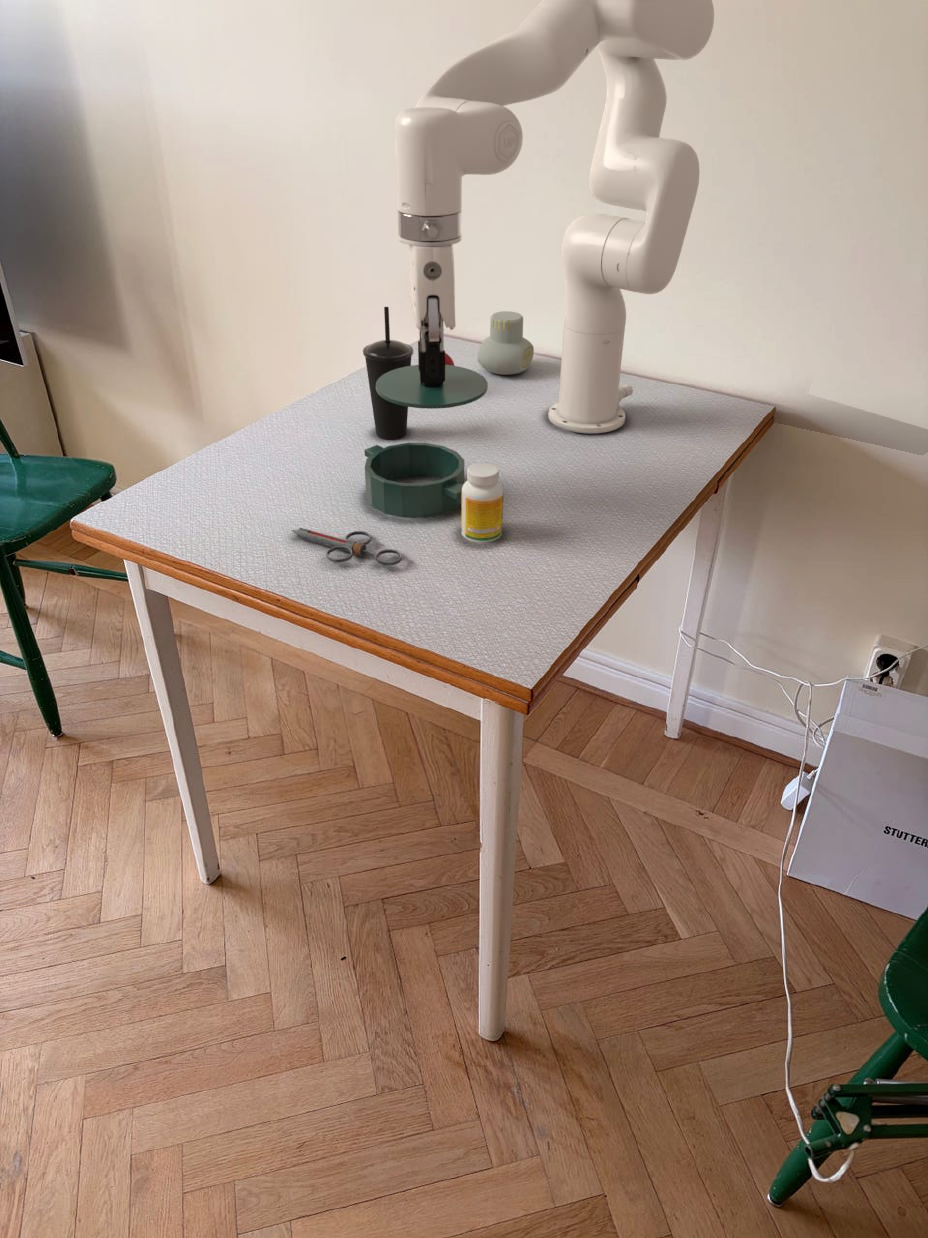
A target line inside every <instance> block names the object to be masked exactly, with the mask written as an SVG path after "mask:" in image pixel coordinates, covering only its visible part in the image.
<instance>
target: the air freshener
mask: <svg viewBox="0 0 928 1238" xmlns="http://www.w3.org/2000/svg"><path fill="white" fill-rule="evenodd" d="M489 322H490V324H489V325H490V327H489V329H490V330H489V336H488V337H486V338H485V339H483V341H482V342H481V343H480V346H479V347H478V351H477V362H478V364H479V365H480V367H482V368H484V370H486V371H488V372H490V373H493V374H495V375H501V376H508V375H509V376H511V375H518V374H521V373H522V372H524V371H526V370H527V369H528V368H529V367H530V365H531V363H532V360H533V358H534V353H535V349H534V348H535V347H534V344H532V343H531V341H529V340H528V339H527V338H525V337H524V316H523V315H522V314H521V313H519V312H516V311H497V312H494V313H493V314H492V315H491V316H490V321H489Z"/></svg>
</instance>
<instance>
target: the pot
mask: <svg viewBox="0 0 928 1238" xmlns="http://www.w3.org/2000/svg"><path fill="white" fill-rule="evenodd" d="M364 456H365V457H366V460H365V463H364V480H365V481H364V482H365V495H366V497H365V498H366V500H367V501H368V503H369V504H370V507H372V508H374V509H375V510H377V511H379V512H381V513H383V514H385V515H389V516H394V517H399V518H404V519H405V518H406V519H409V518H410V519H424V518H429V517H435V516H441V515H443V514H446V513H448V512H450V511H453V510H455V509H457V508H458V507H459V505H461V502H462V486H463V484H464V483H465V459H464V458H463V457H462V456H461V454H460V453H458V452H457V451H456V450H454V449H451V448H449V447H447V446H445V445H440V444H434V443H429V442H403V443H399V444H391V445H389V446H386V447H383V446H380V445H378V444H376V445H373V446H370V447H368V448H365V449H364ZM407 476H427V477H433V478H438V480H433V481H427V482H422V483H421V482H419V483H417V482H416V483H412V482H411V483H410V482H406V483H405V482H399V481H395V480H392V479H396V478H401V477H402V478H403V477H407Z"/></svg>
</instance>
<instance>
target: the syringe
mask: <svg viewBox="0 0 928 1238" xmlns="http://www.w3.org/2000/svg"><path fill="white" fill-rule="evenodd" d="M281 529H285V530H286V527H283V526H282V527H281ZM287 530H288V531H291V532H292V533H293V534H295V535H296V537H297V538H298V539H301V540H302V539H303V540H305V541H309V542H313V543H315V544H319V545H324V546H327V547H331V548H329V549H327V551H326V553H325V554H326V555H325V556H326V559H327V560H328V561H329V562H332V563H345V562H347V561H350V560H351V559H352V558H353V556H354V555H355V556H358V557H364V556H365V555H366V553H368V554H371V555H374V557H375V562H376V563H377V564H378V565H381V566H383V567H384V566H385V567H390V566H395V565H398V564H400V563H401V562H402V560H403V555H402V553H401V551H398V550H397V549H392V548H387V549H382V550H380V551H378V552H373V551H370V550H367V545H368V544H370V543H371V542H372V535H371V534H370V533H369V532H367V531H363V530H354V531H350V532H349V533H348V534H347V535H346V536H345V538H340V537H336V536H333V535H329V534H325V533H322V532H319V531H314V530H311V529H306V528H303V527H299V528H298V529H288V528H287ZM358 535H359V536H360V535H363V536H366V537H367V538H368V539H367V540H365V541H362V542H357V541H352V540H349V538H351V537H352V536H358ZM334 551H345V552H347V553H350V554H349V555H348V556H346V557H342V558H334V557H331V556H329V555H330V554H331V553H332V552H334ZM384 554H394V555H397V556H398V557H399V558H398V559H395V560H394V561H382V560H379V557H380V556H382V555H384Z"/></svg>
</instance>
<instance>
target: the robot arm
mask: <svg viewBox="0 0 928 1238" xmlns="http://www.w3.org/2000/svg"><path fill="white" fill-rule="evenodd" d="M714 23H715V8H714V4H713V0H540V1H539V2H538V3H537V4H536V6H535V7H534V8H533V9H532V10H531V11H530V12H529V13H528V14H527V16H526V17H525V18H523V20H522V22H521V23H520V24H519V25H517V26H516V28H514V29H513V30H512V31H510V32H507V33H505V34H503V35H501V36H499V37H497V38H495V39H493V40H491V41H490V42H488V43H486V44H485V45H483V46H481V47H479V48H477V49H475V50H473V51H472V52H470V53H468V54H466V55H464V56H463V57H461V58H459V59H458V60H456V61H455V62H453V63H452V64H451V65H450V66H448V67H447V68H446V69H445V70H444V71H442V73H440V74H439V76H438V77H437V78H436V79H435V80H434V81H433V83H431V85H430V86H429V87H428V88H427V89H426V90H425V92H423V94H422V95H421V97H420V98H419V100H418V101H417V103H416V104H415V106H414V107H412V108H406V109H404V110H402V111H400V112H399V114H398V115H397V116H396V119H395V129H394V131H395V132H394V134H395V135H394V136H395V160H396V161H395V163H396V165H395V166H396V169H395V170H396V194H397V197H396V199H397V230H398V235H397V236H398V241H399V242H400V243H402V244H403V245H404V244H405V245H408V261H409V263H408V265H409V284H410V295H411V296H410V297H411V304H412V311H413V317H414V321H415V327H416V328H417V329H418V330H419V331H418V334H419V338H420V337H421V348H422V351H420V340H418V341H417V355H418V358H417V359H418V360H417V361H418V362H417V363H418V364H417V365H419V371H420V381H421V382H422V383H441V382H444V381H445V353H446V350H445V347H444V346H445V345H444V343H445V341H444V339H445V338H444V331H445V328H446V329H447V328H449V330H450V331H452V330H454V329H455V328H456V292H455V291H456V287H455V286H456V284H455V281H456V279H455V274H456V273H455V253H454V252H455V251H454V245H456V244H459V243H460V242H462V213H463V212H462V208H463V207H462V206H463V203H462V202H463V200H462V197H463V195H462V194H463V193H462V191H463V187H462V186H463V185H462V184H463V179H462V178H463V177H464V176H465V175H481V176H483V175H484V176H492V175H496V174H500V173H502V172H504V171H506V170H507V169H509V168H510V167H511V166H512V165H513V164H514V163H515V162H516V161H517V159H518V157H519V155H520V153H521V150H522V147H523V142H524V141H523V140H524V138H523V137H524V136H523V129H522V124H521V123H520V120H519V118H518V117H517V116H516V114H515V113H514V112H513V111H512V110H511V109H509V108H508V107H505V106H508V105H513V104H517V103H523V102H527V101H532V100H535V99H536V100H537V99H538V98H542V97H545V96H548V95H550V94H553V93H555V92H557V91H559V90H560V89H561V88H563V86H565V85H566V84H567V82H568V81H569V80H570V78H572V76H574V73H576V71H577V70H578V69H579V67H580V66H581V65H582V64H583V63H584V61H585V60H586V59H587V57H589V56H590V54H591V53H592V52H593V51H594V50H595V49H597V51H598V55H599V57H600V60H601V63H602V67H603V70H604V75H605V81H606V82H605V83H606V98H605V105H604V109H603V114H602V117H601V122H600V126H599V131H598V135H597V139H596V142H595V143H596V144H595V148H594V151H593V157H592V161H591V166H590V172H589V178H588V186H589V191H590V193H591V195H592V196H593V197H594V199H596V200H597V201H599V202H601V203H603V204H606V205H610V206H614V207H620V208H624V209H630V210H637V211H641V212H646V215H645V221H642V220H639V219H638V220H637V219H632V218H628V217H622V216H619V215H618V216H617V215H611V214H606V213H586V214H583V215H581V216H579V217H576V218H575V219H574V220H573V221H571V223H570V224H569V225H568V226H567V228H566V230H565V233H564V235H563V238H562V241H561V259H562V269H563V277H564V293H565V294H564V297H565V298H564V316H563V317H564V318H563V331H562V345H561V361H560V374H559V375H560V376H559V391H558V392H559V393H558V402H555V403H554V404H552V405H551V406H550V407H549V408H548V413H547V415H548V420H549V422H550V423H552V425H554V426H555V427H558V428H560V429H563V430H566V431H568V432H572V433H578V434H590V435H591V434H602V433H603V434H604V433H608V432H612V431H615V430H618V429H620V428H621V427H622V426H623V425H624V424H625V422H626V412H625V410H624V409H623V408H621V406H620V402H622V400H623V399H625V398H628V397H630V396H631V395H632V394H633V392H634V389H633V386H631V385H630V384H625V385H622V386H620V379H621V370H622V360H623V350H624V342H625V332H626V331H625V330H626V323H627V307H626V302H625V298H624V296H623V293H622V290H624V291H629V292H633V293H639V294H644V295H654V294H658V293H660V292H662V291H663V290H665V289H666V288H667V286H668V285H669V284H670V282H671V281H672V279H673V277H674V274H675V272H676V270H677V266H678V263H679V260H680V256H681V253H682V250H683V246H684V242H685V238H686V235H687V231H688V227H689V224H690V219H691V217H692V212H693V208H694V206H695V202H696V198H697V194H698V189H699V183H700V162H699V157H698V155H697V152H696V151H695V149H694V148H693V146H691V144H688V143H687V142H686V141H682V140H680V139H673V138H664V137H660V135H661V131H662V126H663V121H664V117H665V112H666V108H667V89H666V85H665V82H664V78H663V76H662V73H661V70H660V68H659V66H658V64H657V62H656V60H669V61H688V60H690V59H693V58H695V57H696V56H698V55H699V54H700V53H701V52H702V51H703V49H704V48H705V47H706V45H707V44H708V42H709V40H710V38H711V36H712V33H713V30H714ZM444 325H445V327H444ZM427 334H428V335H427Z"/></svg>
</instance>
